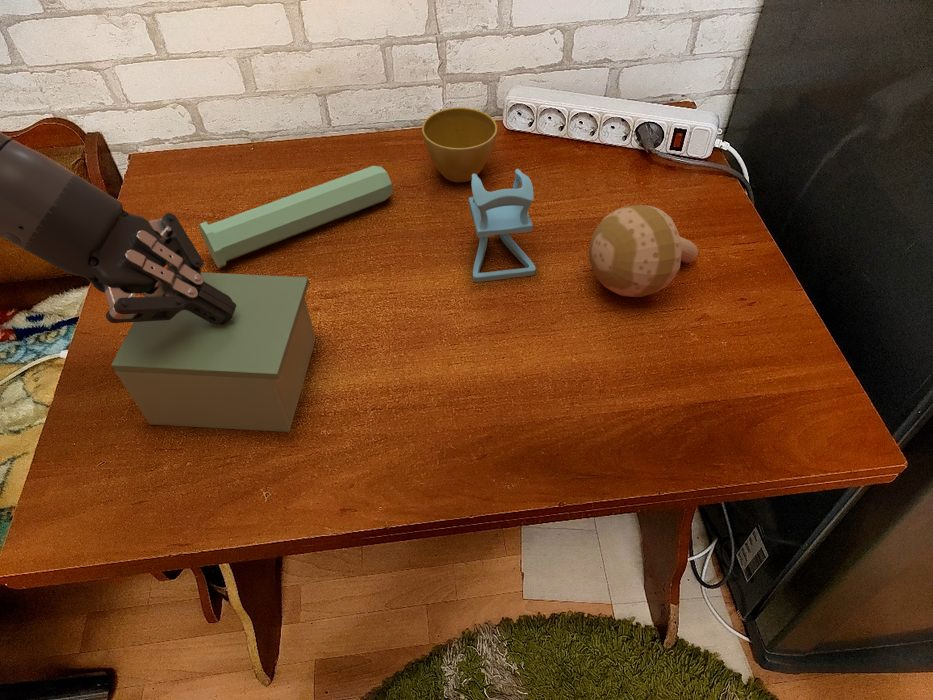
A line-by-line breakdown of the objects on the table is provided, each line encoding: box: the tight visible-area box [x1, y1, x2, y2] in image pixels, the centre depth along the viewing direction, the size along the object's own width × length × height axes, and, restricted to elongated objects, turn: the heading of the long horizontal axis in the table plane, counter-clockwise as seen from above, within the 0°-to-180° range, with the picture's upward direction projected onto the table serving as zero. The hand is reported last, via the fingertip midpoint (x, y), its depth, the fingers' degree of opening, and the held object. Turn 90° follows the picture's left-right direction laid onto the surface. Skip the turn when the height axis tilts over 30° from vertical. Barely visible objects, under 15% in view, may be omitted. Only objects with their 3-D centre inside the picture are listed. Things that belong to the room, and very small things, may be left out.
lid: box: [110, 272, 310, 379], centre depth 66 cm, size 16×13×1 cm
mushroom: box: [588, 204, 699, 298], centre depth 80 cm, size 10×11×15 cm
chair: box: [468, 168, 537, 283], centre depth 81 cm, size 8×8×12 cm
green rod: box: [198, 165, 393, 269], centre depth 88 cm, size 6×6×25 cm
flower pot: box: [421, 107, 498, 184], centre depth 94 cm, size 10×10×7 cm
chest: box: [114, 297, 317, 433], centre depth 70 cm, size 15×13×9 cm
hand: (230, 315), depth 66 cm, fingers closed
